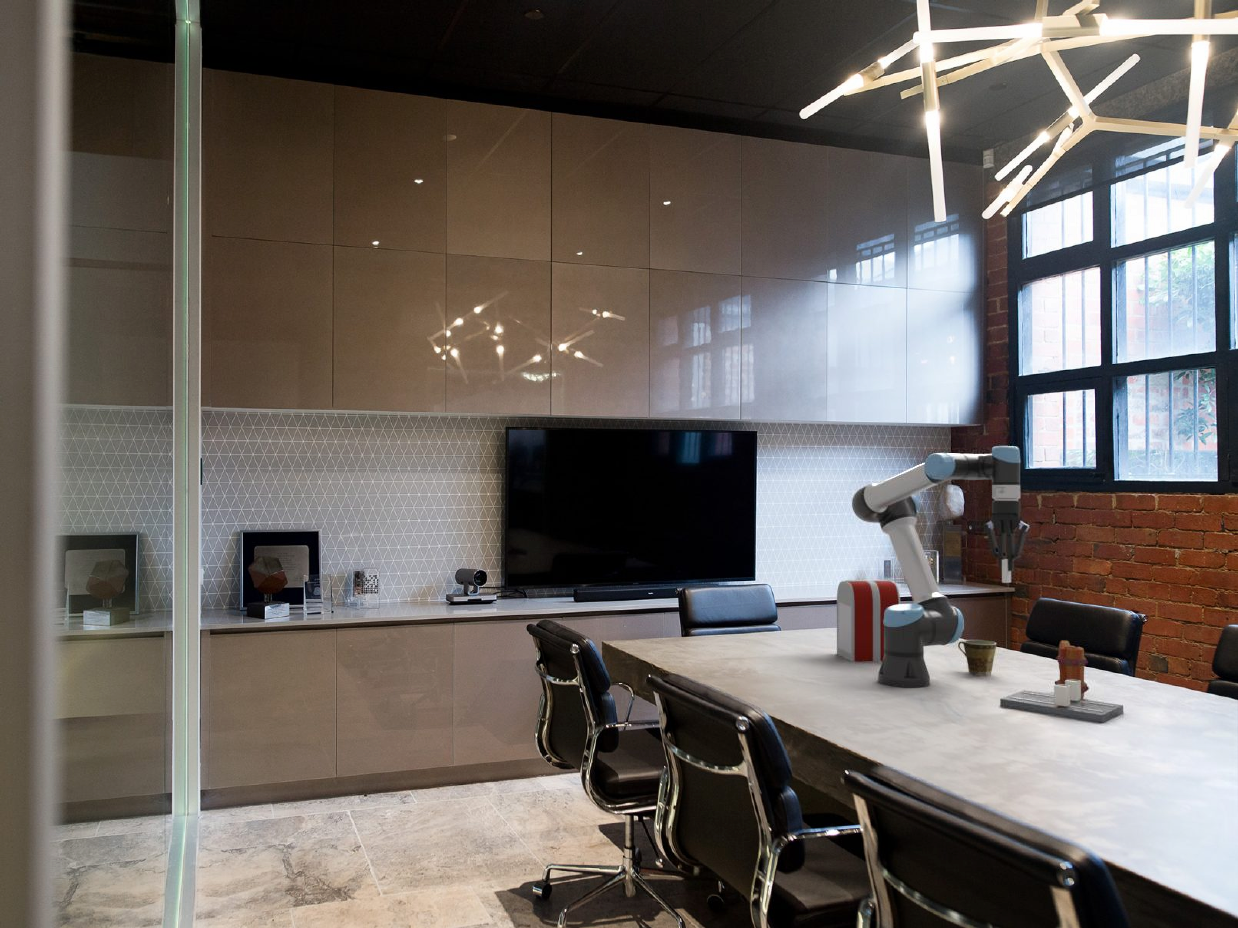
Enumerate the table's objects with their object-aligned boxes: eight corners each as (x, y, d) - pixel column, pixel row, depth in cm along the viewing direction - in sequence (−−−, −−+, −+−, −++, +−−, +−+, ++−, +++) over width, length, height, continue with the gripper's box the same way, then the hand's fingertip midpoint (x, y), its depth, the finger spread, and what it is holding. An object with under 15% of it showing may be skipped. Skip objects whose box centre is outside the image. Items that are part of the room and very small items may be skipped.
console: (1000, 705, 258) (1000, 697, 258) (1024, 697, 269) (1024, 689, 269) (1102, 722, 240) (1102, 713, 240) (1123, 712, 251) (1123, 704, 251)
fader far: (1065, 699, 257) (1065, 679, 257) (1069, 697, 259) (1069, 678, 259) (1076, 700, 255) (1076, 681, 255) (1080, 699, 257) (1080, 679, 257)
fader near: (1054, 704, 250) (1054, 684, 250) (1058, 702, 252) (1058, 683, 252) (1066, 706, 248) (1065, 686, 248) (1070, 704, 250) (1070, 684, 250)
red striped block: (835, 653, 341) (835, 578, 342) (883, 652, 343) (883, 577, 344) (852, 661, 325) (852, 582, 325) (901, 661, 327) (901, 582, 327)
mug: (1092, 701, 264) (1091, 647, 265) (1060, 700, 266) (1060, 646, 266) (1077, 690, 279) (1077, 639, 279) (1048, 689, 280) (1047, 638, 281)
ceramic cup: (1003, 674, 304) (1003, 642, 304) (984, 677, 298) (983, 645, 298) (967, 667, 314) (967, 637, 315) (948, 670, 309) (948, 640, 309)
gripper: (978, 499, 274) (978, 581, 274) (1023, 500, 265) (1024, 584, 265) (989, 499, 280) (989, 579, 279) (1034, 500, 270) (1034, 583, 270)
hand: (1006, 582), depth 272 cm, fingers closed
